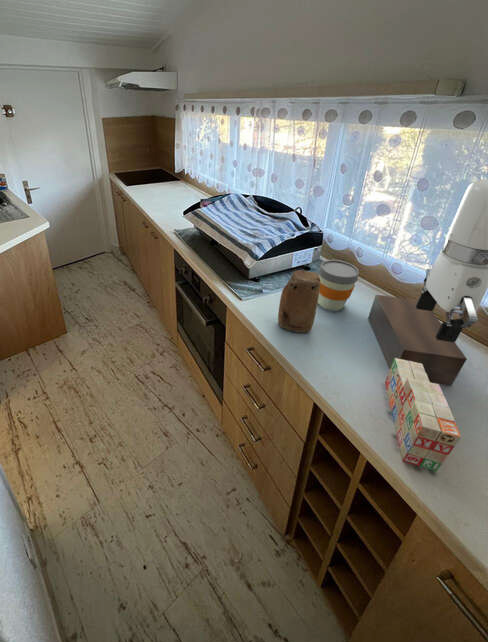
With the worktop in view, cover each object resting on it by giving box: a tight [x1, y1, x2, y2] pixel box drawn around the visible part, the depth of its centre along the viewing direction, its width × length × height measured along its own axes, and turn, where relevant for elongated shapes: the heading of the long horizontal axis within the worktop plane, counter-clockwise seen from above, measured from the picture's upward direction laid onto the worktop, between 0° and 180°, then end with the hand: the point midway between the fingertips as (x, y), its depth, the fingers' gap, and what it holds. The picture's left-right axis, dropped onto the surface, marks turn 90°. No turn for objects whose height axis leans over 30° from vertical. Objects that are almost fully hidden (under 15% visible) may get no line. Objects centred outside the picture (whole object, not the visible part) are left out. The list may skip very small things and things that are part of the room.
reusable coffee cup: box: [318, 259, 359, 312], centre depth 109 cm, size 13×13×15 cm
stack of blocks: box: [384, 358, 462, 472], centre depth 69 cm, size 21×6×12 cm, turn 160°
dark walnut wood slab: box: [367, 294, 468, 387], centre depth 90 cm, size 14×25×10 cm, turn 167°
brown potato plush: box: [277, 269, 320, 334], centre depth 97 cm, size 11×8×20 cm
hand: (433, 323), depth 63 cm, fingers open, 9 cm apart
